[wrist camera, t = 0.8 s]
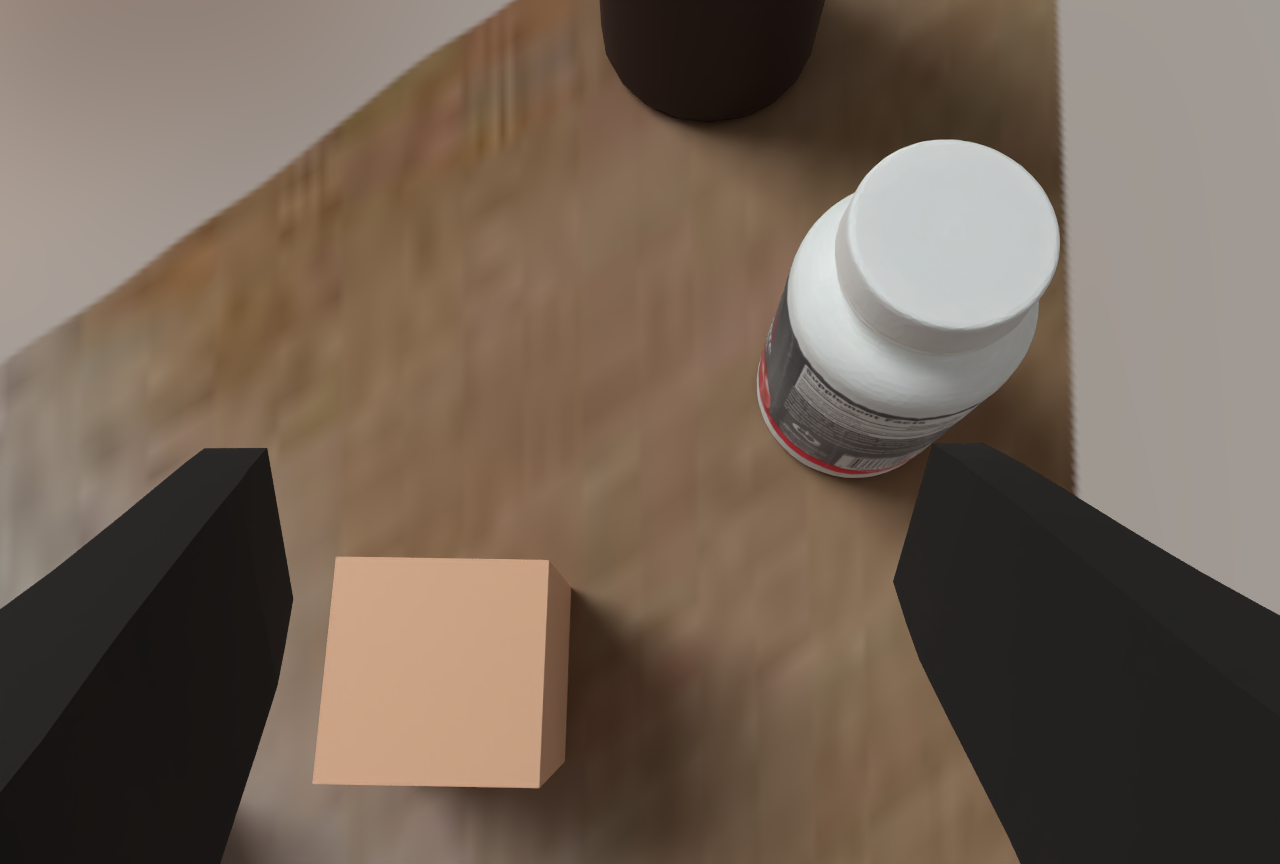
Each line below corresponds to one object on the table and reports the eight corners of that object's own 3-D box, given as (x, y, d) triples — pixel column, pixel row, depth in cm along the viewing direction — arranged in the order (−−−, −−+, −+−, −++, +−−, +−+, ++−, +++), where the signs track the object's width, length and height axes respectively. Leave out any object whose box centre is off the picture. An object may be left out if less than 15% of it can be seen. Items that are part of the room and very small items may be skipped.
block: (565, 761, 24) (538, 788, 18) (393, 758, 24) (312, 783, 18) (571, 587, 25) (548, 560, 19) (407, 585, 25) (336, 556, 19)
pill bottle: (793, 277, 27) (871, 65, 18) (964, 345, 27) (1139, 163, 17) (724, 437, 26) (769, 300, 17) (903, 512, 25) (1055, 414, 16)
